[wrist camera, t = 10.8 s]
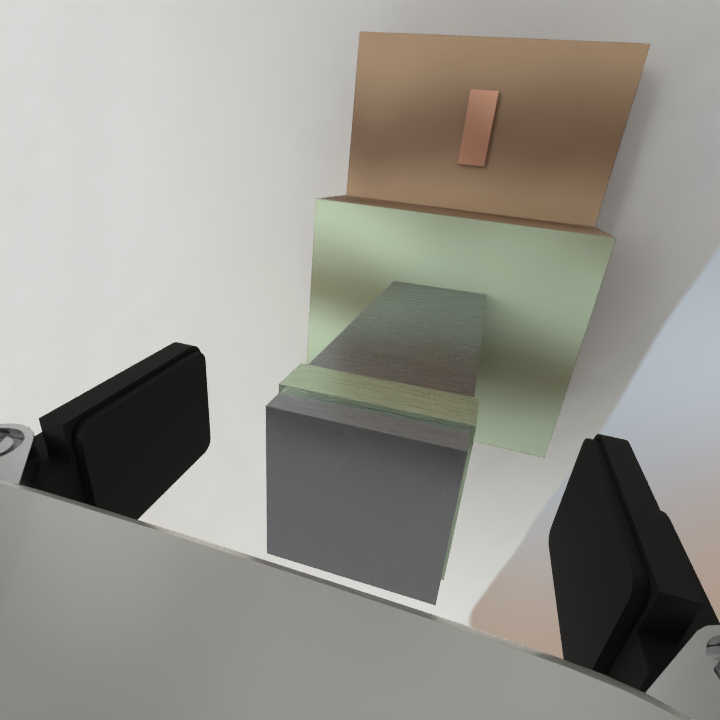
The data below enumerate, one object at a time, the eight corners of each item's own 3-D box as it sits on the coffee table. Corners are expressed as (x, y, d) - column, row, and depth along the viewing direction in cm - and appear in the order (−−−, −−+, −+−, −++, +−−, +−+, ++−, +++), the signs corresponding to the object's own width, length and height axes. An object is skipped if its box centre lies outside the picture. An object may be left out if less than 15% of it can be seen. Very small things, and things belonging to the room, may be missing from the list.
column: (392, 278, 20) (261, 400, 9) (489, 292, 19) (474, 448, 8) (382, 365, 21) (263, 554, 11) (471, 382, 20) (439, 609, 10)
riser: (378, 50, 23) (326, -3, 16) (627, 63, 21) (692, 6, 14) (349, 349, 30) (304, 400, 23) (533, 387, 28) (544, 458, 21)
